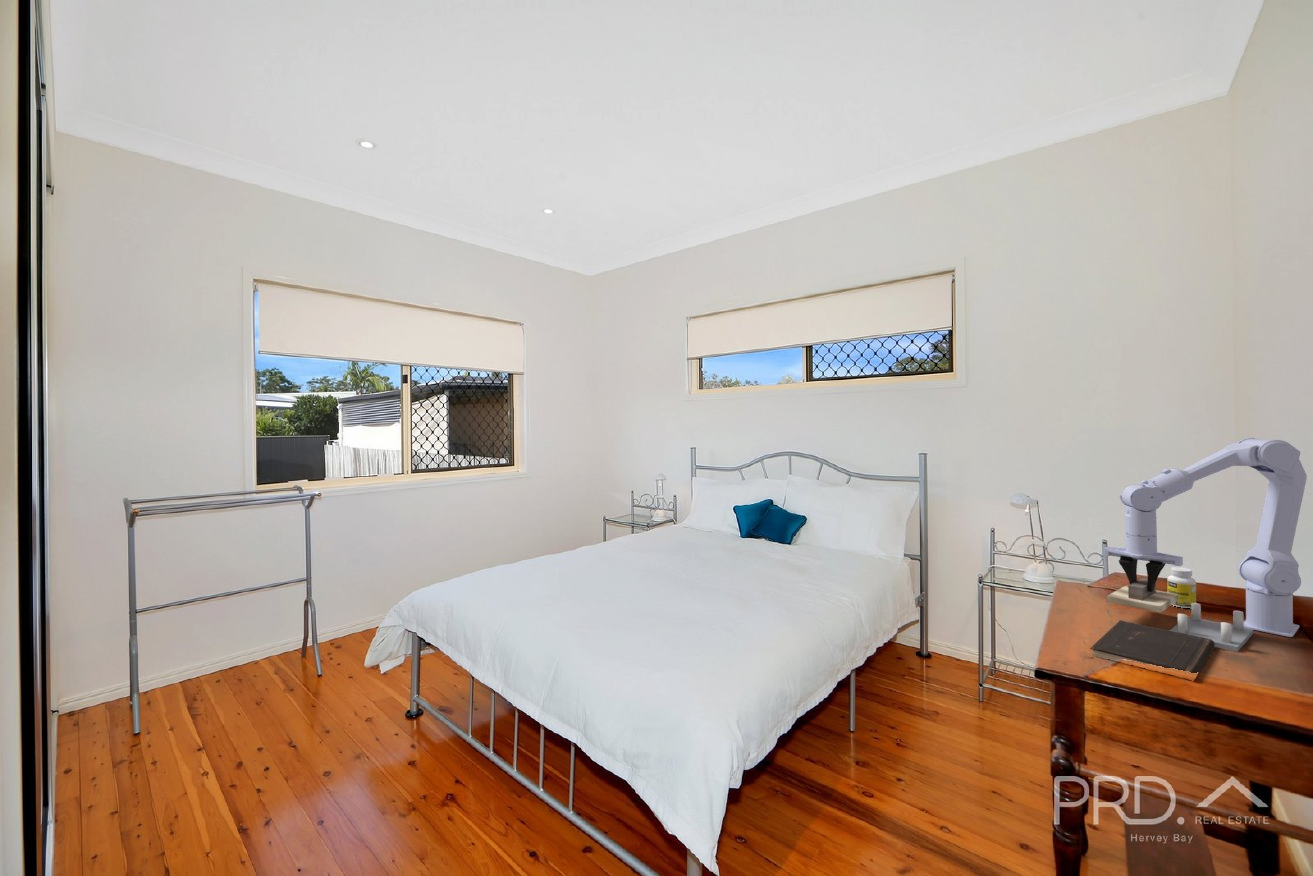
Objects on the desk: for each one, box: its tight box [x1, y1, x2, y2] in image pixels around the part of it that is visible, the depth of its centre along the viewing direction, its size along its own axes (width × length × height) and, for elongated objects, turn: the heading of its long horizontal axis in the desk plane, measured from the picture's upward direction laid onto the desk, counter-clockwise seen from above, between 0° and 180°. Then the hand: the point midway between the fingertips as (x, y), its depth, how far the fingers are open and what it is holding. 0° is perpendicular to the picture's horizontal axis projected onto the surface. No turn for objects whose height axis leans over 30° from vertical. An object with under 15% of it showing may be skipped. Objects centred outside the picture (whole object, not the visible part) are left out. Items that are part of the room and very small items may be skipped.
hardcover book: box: [1089, 620, 1215, 673], centre depth 117 cm, size 16×23×2 cm
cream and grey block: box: [1106, 577, 1178, 614], centre depth 134 cm, size 14×10×4 cm
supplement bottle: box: [1166, 566, 1197, 610], centre depth 142 cm, size 5×5×10 cm
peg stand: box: [1169, 602, 1254, 652], centre depth 124 cm, size 15×11×5 cm
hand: (1142, 589), depth 134 cm, fingers closed on cream and grey block, 3 cm apart
